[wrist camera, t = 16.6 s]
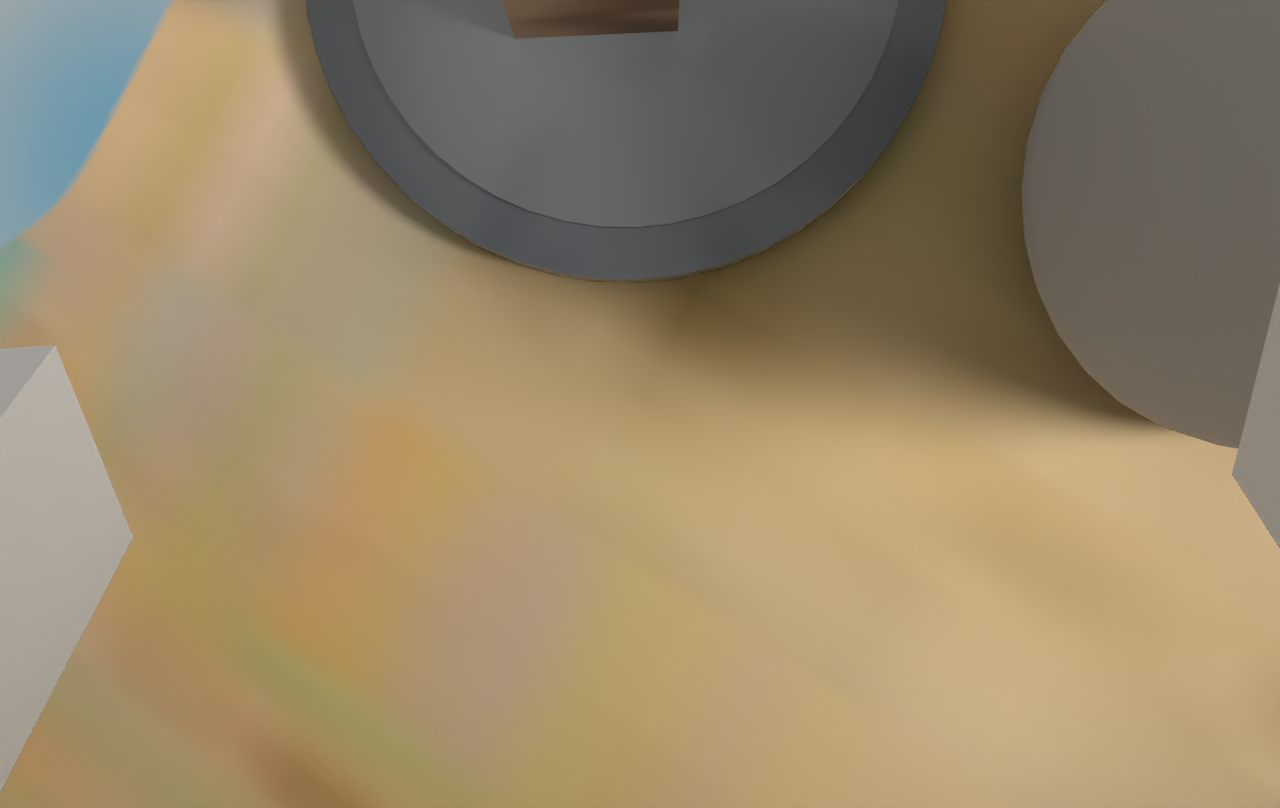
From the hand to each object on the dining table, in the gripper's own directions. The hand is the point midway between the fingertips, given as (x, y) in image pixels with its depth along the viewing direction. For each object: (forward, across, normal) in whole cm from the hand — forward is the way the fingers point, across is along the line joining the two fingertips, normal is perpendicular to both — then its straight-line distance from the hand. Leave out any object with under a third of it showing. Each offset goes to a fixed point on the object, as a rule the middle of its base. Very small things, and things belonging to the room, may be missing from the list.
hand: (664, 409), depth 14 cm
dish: (+29, -1, -3) cm, 29 cm away
